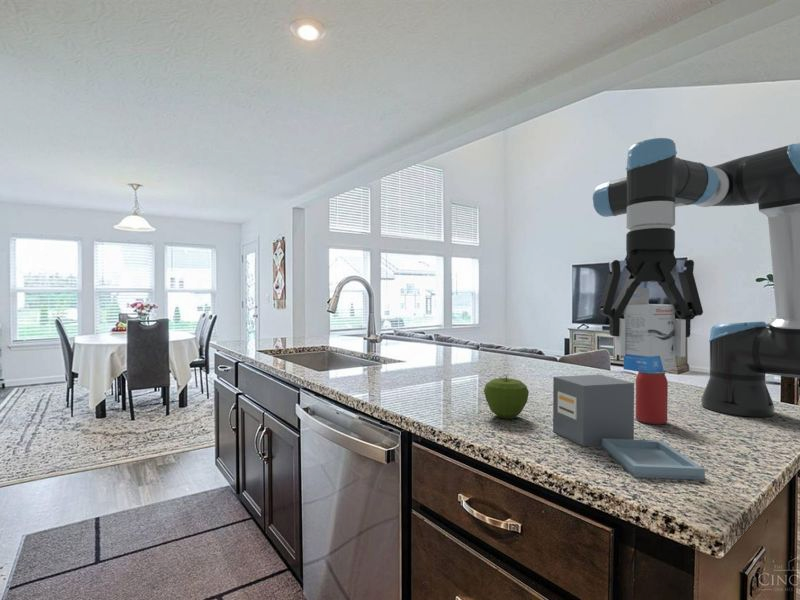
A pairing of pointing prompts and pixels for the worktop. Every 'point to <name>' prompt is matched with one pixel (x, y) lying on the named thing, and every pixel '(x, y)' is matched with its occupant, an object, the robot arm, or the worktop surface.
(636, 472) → the tray
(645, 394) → the beer can
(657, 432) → the worktop surface
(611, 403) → the box
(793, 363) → the robot arm
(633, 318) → the ink box
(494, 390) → the apple
